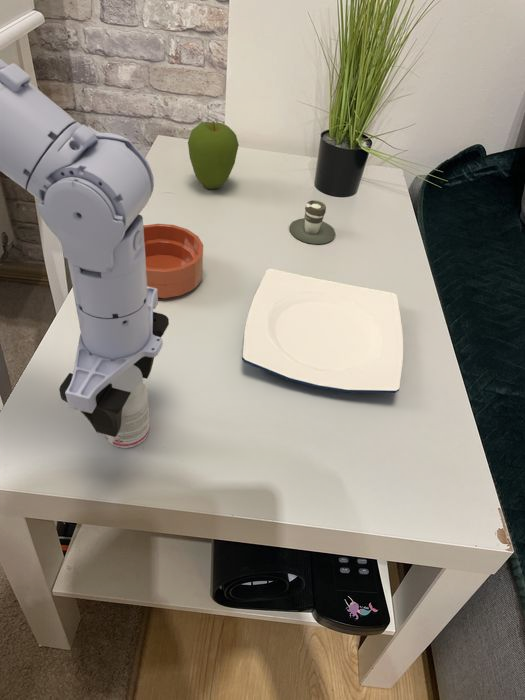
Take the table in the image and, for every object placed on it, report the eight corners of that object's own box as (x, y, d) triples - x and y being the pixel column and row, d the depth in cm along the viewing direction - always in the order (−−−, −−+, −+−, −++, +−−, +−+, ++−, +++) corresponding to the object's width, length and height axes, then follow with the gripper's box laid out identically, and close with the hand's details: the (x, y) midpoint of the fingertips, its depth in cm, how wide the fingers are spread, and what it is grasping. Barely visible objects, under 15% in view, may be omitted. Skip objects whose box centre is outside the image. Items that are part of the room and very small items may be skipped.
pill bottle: (159, 426, 56) (157, 373, 50) (129, 457, 53) (123, 405, 47) (124, 405, 58) (118, 352, 52) (93, 434, 55) (83, 381, 49)
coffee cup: (359, 245, 86) (367, 218, 83) (296, 257, 82) (301, 229, 78) (323, 207, 93) (329, 182, 90) (263, 217, 89) (266, 190, 85)
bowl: (115, 298, 70) (112, 268, 66) (128, 250, 78) (125, 220, 74) (199, 303, 71) (201, 274, 68) (203, 255, 79) (204, 227, 76)
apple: (206, 203, 90) (209, 137, 82) (177, 182, 94) (177, 117, 86) (244, 190, 94) (250, 126, 86) (215, 171, 98) (219, 108, 90)
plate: (400, 413, 61) (407, 398, 60) (230, 378, 62) (232, 363, 60) (397, 305, 76) (403, 290, 74) (260, 278, 77) (262, 263, 75)
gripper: (121, 369, 37) (133, 472, 47) (187, 257, 47) (186, 361, 57) (28, 346, 38) (59, 452, 47) (114, 240, 48) (125, 345, 57)
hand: (124, 401), depth 52 cm, fingers open, 7 cm apart
